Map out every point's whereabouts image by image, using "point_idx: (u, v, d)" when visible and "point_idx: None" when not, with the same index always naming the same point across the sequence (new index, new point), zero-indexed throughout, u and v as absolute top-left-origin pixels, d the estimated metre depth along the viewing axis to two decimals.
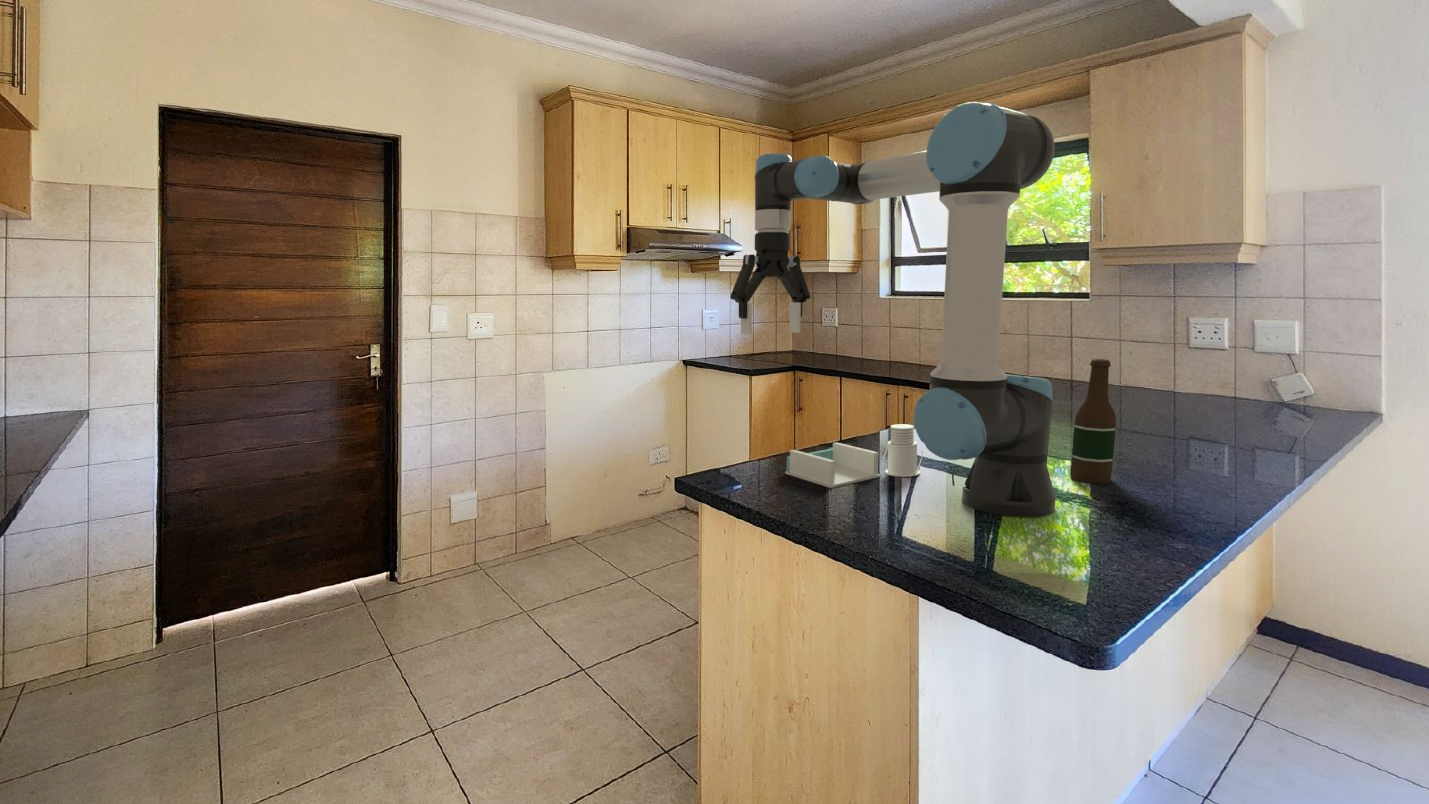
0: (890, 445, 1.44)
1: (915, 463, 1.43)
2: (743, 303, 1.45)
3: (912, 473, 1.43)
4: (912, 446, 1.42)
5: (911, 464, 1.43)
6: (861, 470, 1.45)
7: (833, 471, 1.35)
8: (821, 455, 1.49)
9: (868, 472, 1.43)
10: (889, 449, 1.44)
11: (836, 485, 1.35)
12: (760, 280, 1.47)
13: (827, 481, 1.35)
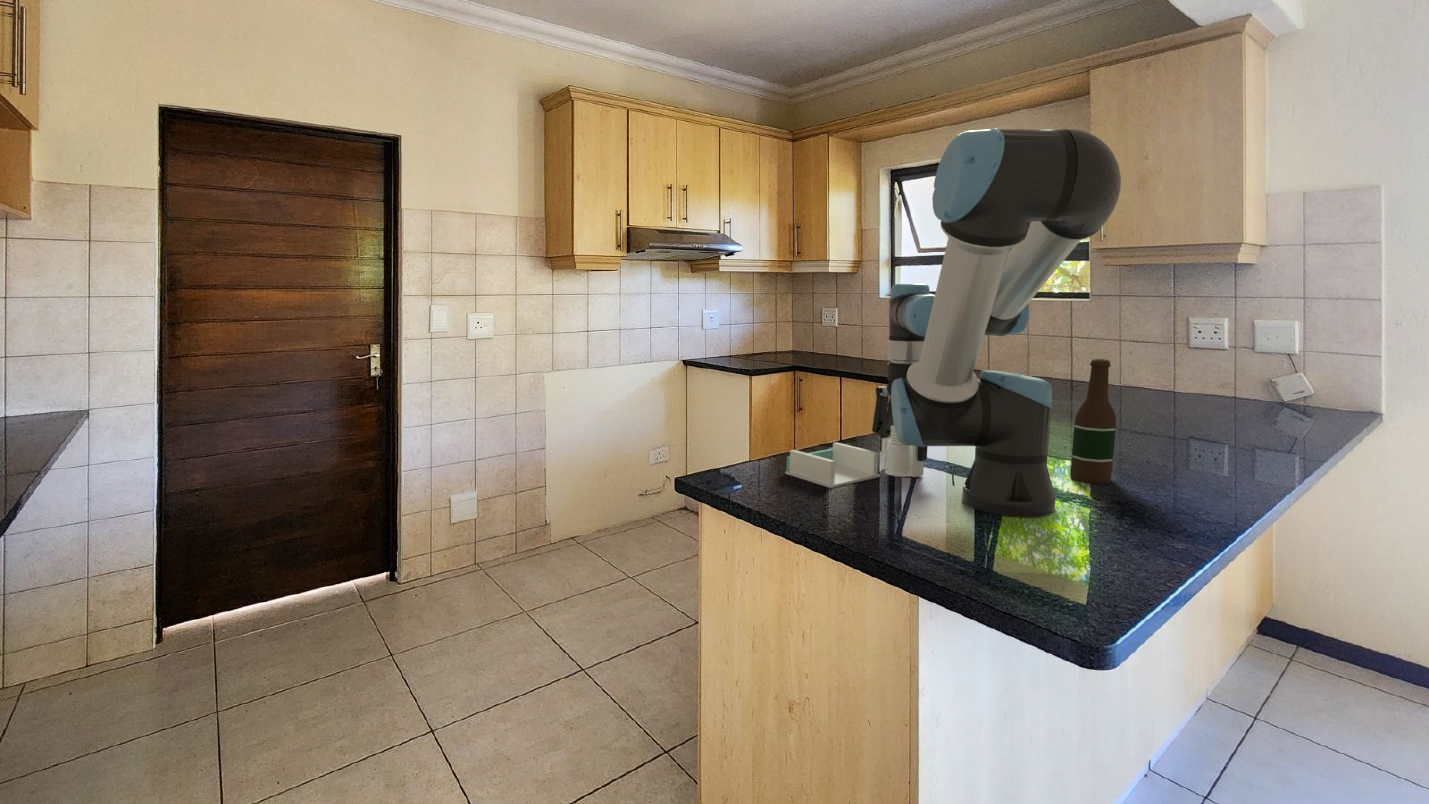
0: (890, 445, 1.44)
1: None
2: (880, 437, 1.48)
3: None
4: (912, 446, 1.42)
5: (911, 464, 1.43)
6: (861, 470, 1.45)
7: (833, 471, 1.35)
8: (821, 455, 1.49)
9: (868, 472, 1.43)
10: (889, 449, 1.44)
11: (836, 485, 1.35)
12: (889, 412, 1.45)
13: (827, 481, 1.35)
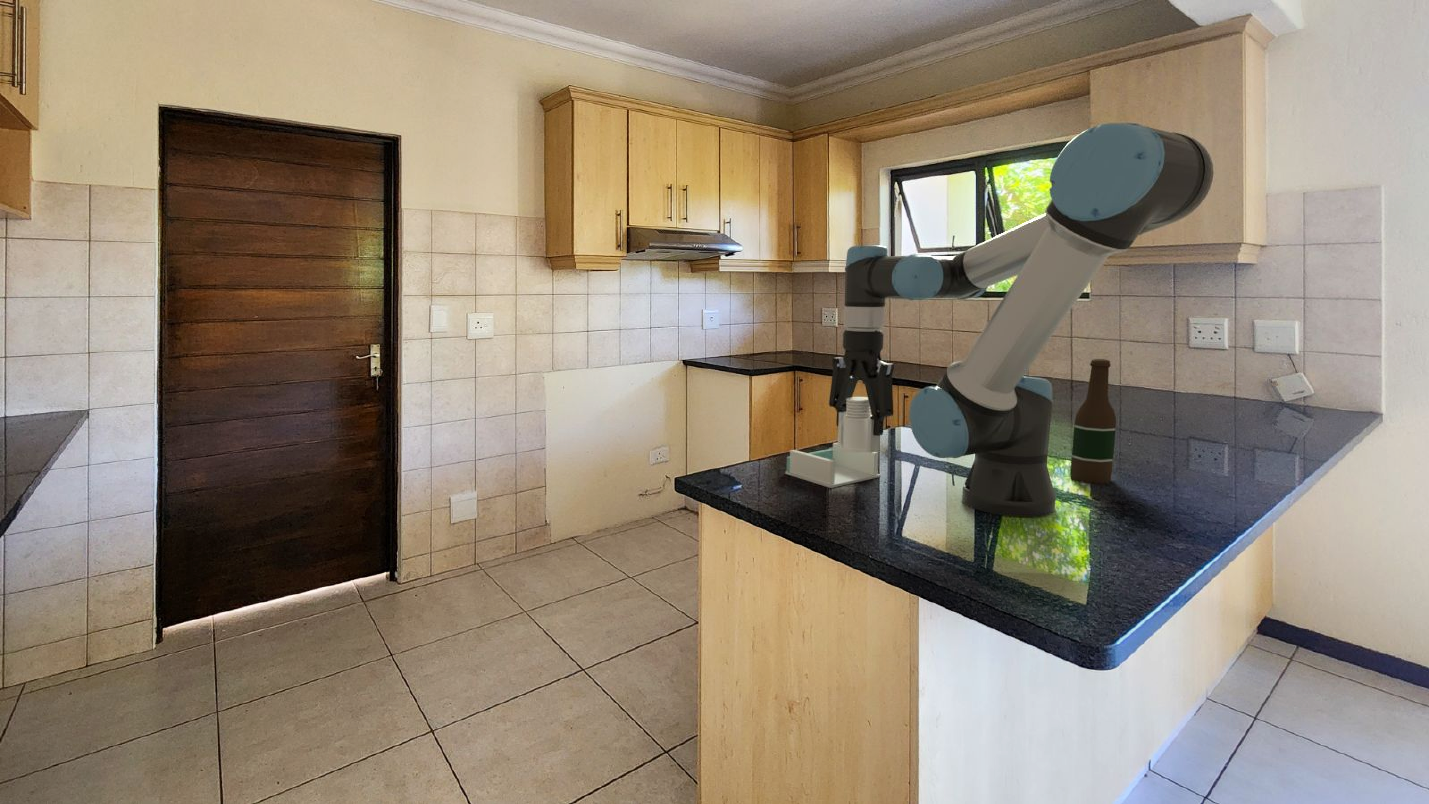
0: (845, 418, 1.35)
1: None
2: (837, 411, 1.40)
3: None
4: (868, 419, 1.34)
5: (867, 439, 1.34)
6: (861, 470, 1.45)
7: (833, 471, 1.35)
8: (821, 455, 1.49)
9: (868, 472, 1.43)
10: (844, 423, 1.36)
11: (836, 485, 1.35)
12: (846, 384, 1.37)
13: (827, 481, 1.35)
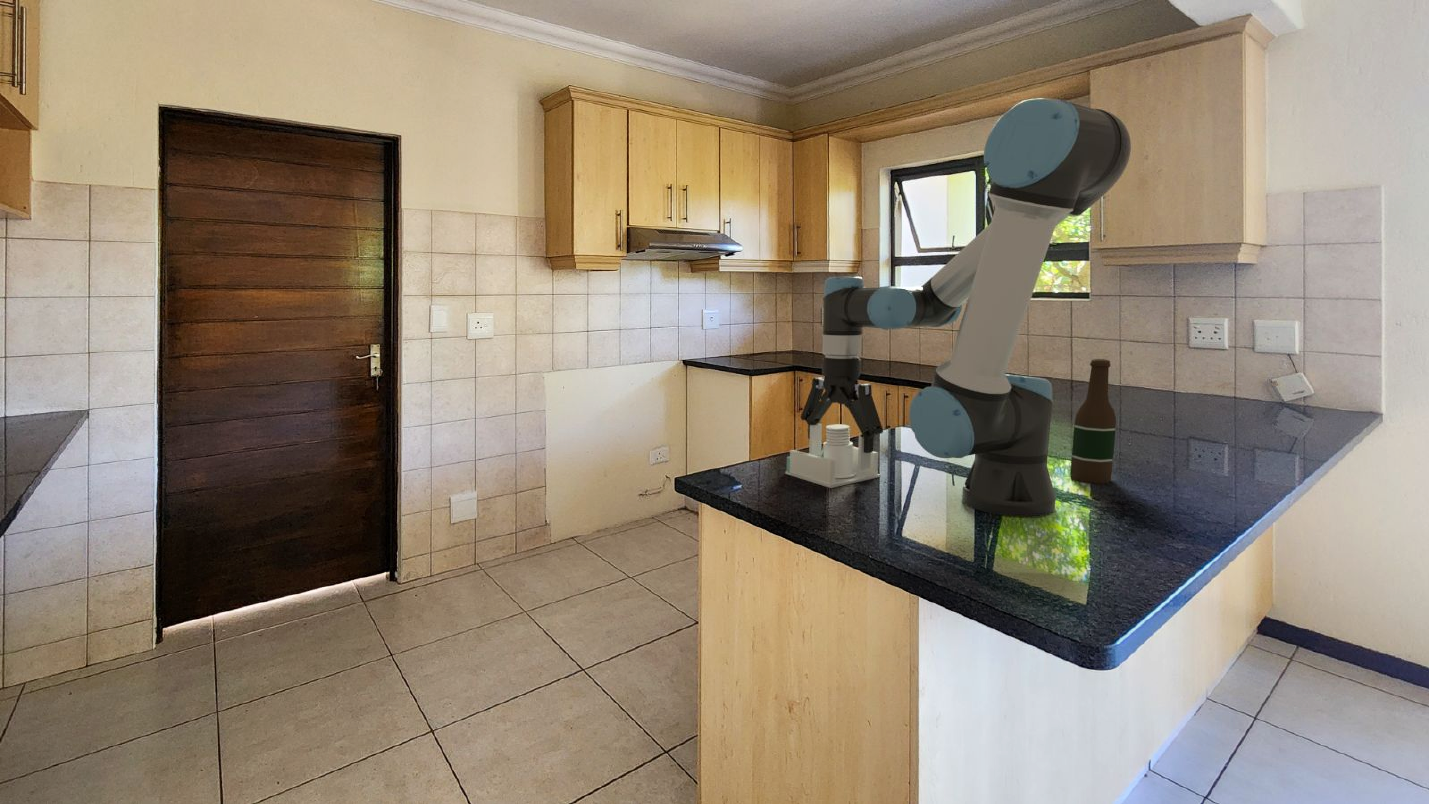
0: (825, 446, 1.40)
1: (850, 464, 1.40)
2: (808, 424, 1.47)
3: (847, 474, 1.40)
4: (847, 447, 1.39)
5: (846, 465, 1.39)
6: (861, 470, 1.45)
7: (833, 471, 1.35)
8: (821, 455, 1.49)
9: (868, 472, 1.43)
10: (824, 450, 1.41)
11: (836, 485, 1.35)
12: (821, 404, 1.43)
13: (827, 481, 1.35)
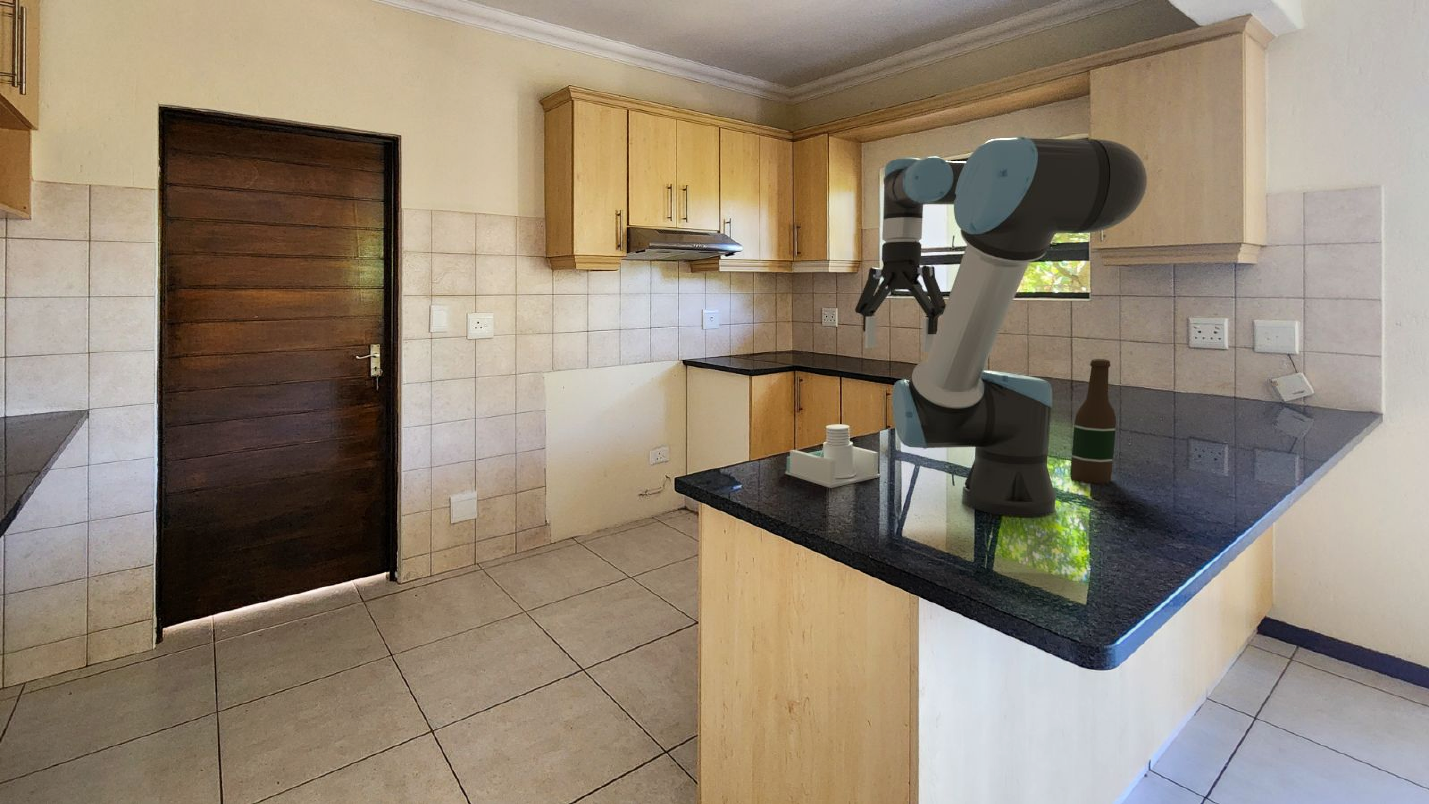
0: (825, 446, 1.40)
1: (850, 464, 1.40)
2: (863, 316, 1.47)
3: (847, 474, 1.40)
4: (847, 447, 1.39)
5: (846, 465, 1.39)
6: (861, 470, 1.45)
7: (833, 471, 1.35)
8: (821, 455, 1.49)
9: (868, 472, 1.43)
10: (824, 450, 1.41)
11: (836, 485, 1.35)
12: (879, 293, 1.43)
13: (827, 481, 1.35)
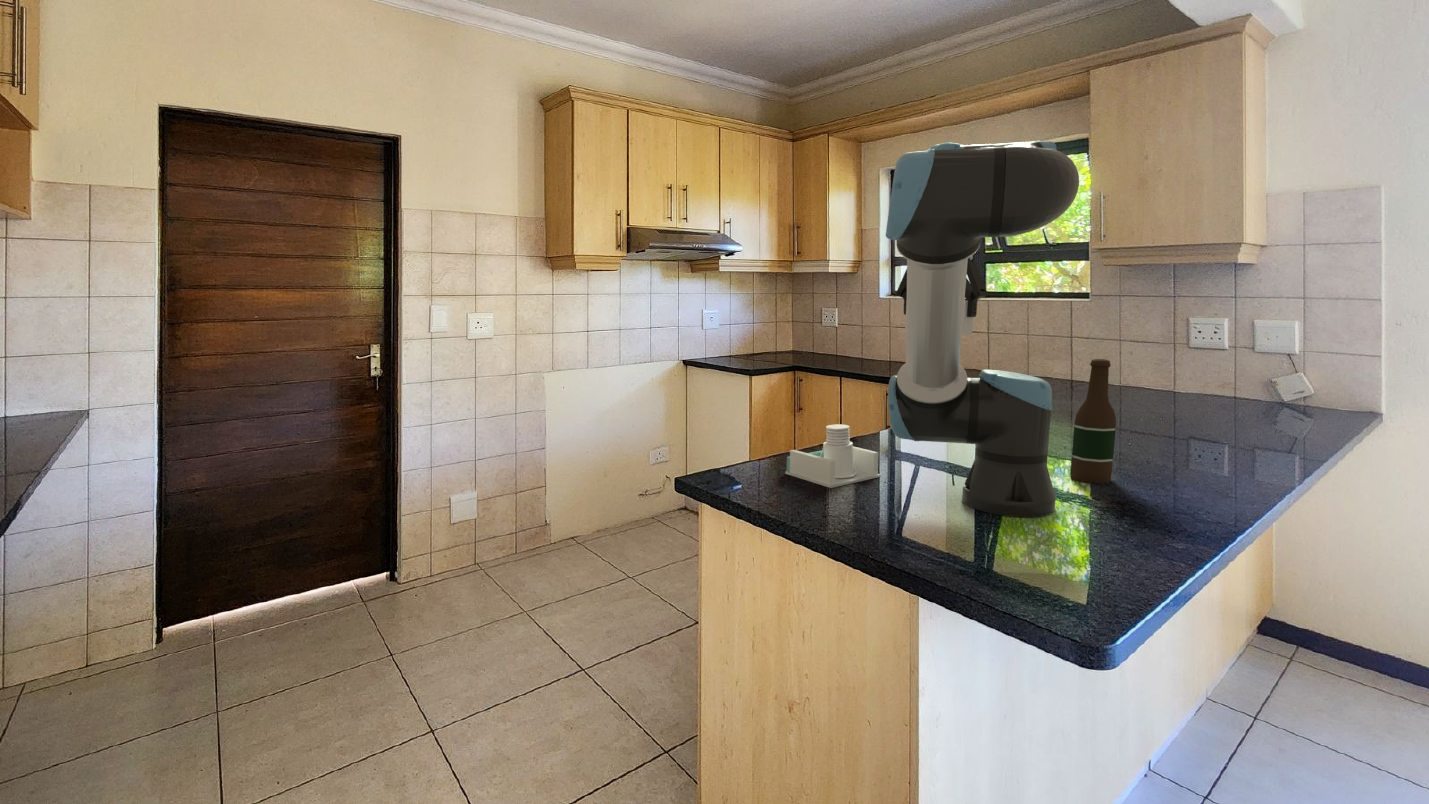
0: (825, 446, 1.40)
1: (850, 464, 1.40)
2: (904, 299, 1.50)
3: (847, 474, 1.40)
4: (847, 447, 1.39)
5: (846, 465, 1.39)
6: (861, 470, 1.45)
7: (833, 471, 1.35)
8: (821, 455, 1.49)
9: (868, 472, 1.43)
10: (824, 450, 1.41)
11: (836, 485, 1.35)
12: None
13: (827, 481, 1.35)
